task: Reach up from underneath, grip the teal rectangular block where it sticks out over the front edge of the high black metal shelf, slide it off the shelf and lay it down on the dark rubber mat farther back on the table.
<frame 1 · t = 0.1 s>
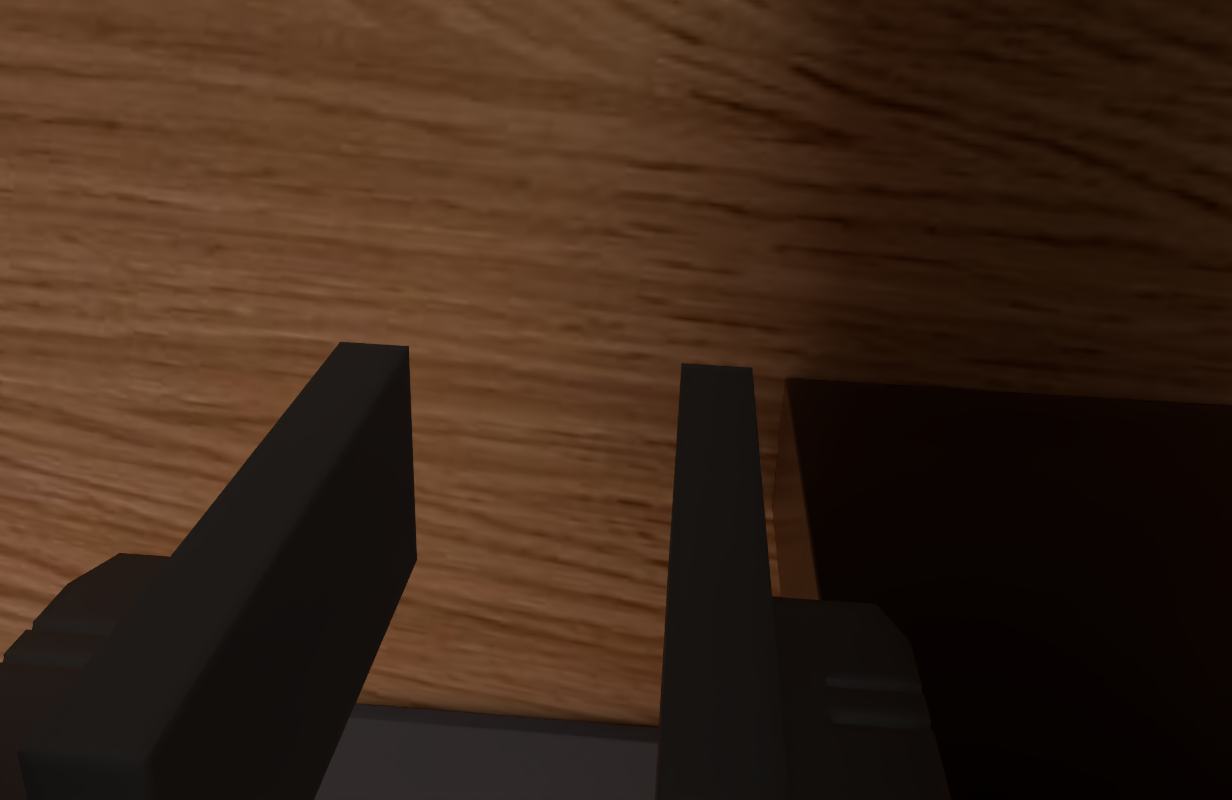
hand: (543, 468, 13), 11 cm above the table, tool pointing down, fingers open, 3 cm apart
shelf stand: (1194, 148, 21), on the table
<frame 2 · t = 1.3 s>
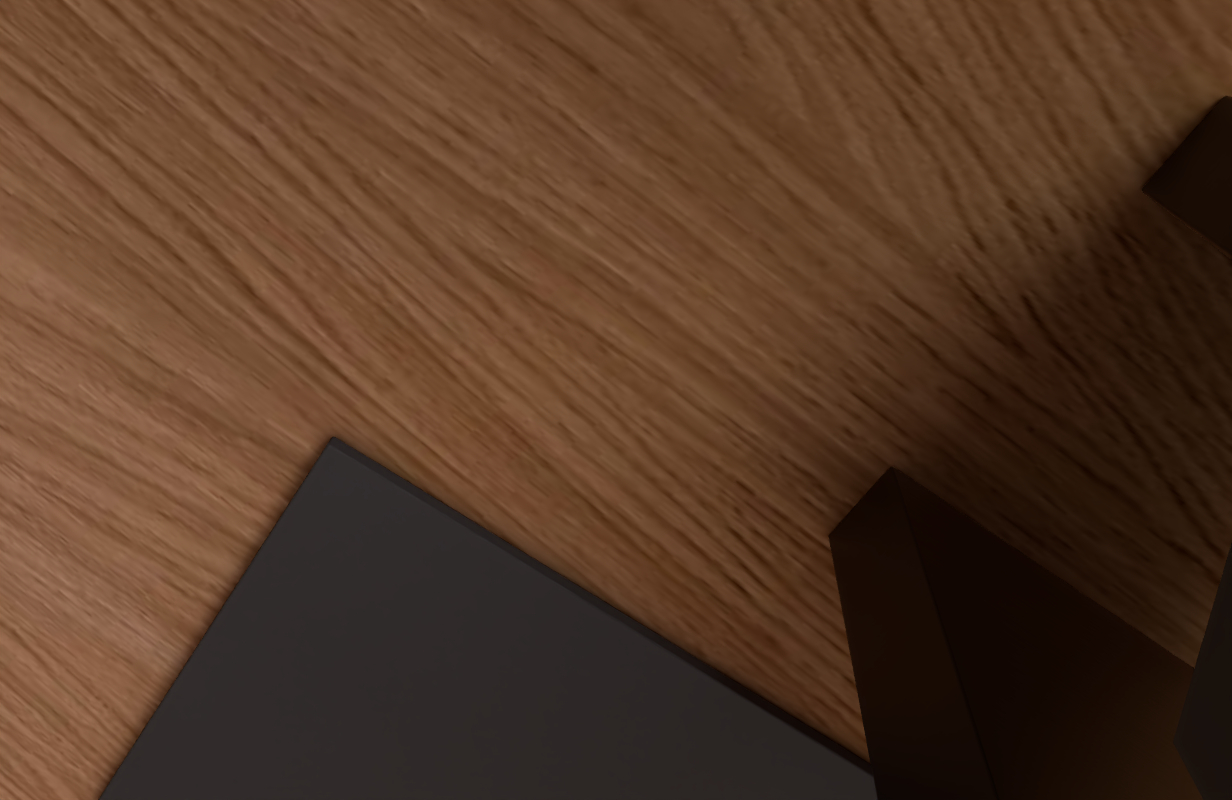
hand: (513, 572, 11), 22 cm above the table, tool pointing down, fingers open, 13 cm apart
shelf stand: (1194, 467, 34), on the table
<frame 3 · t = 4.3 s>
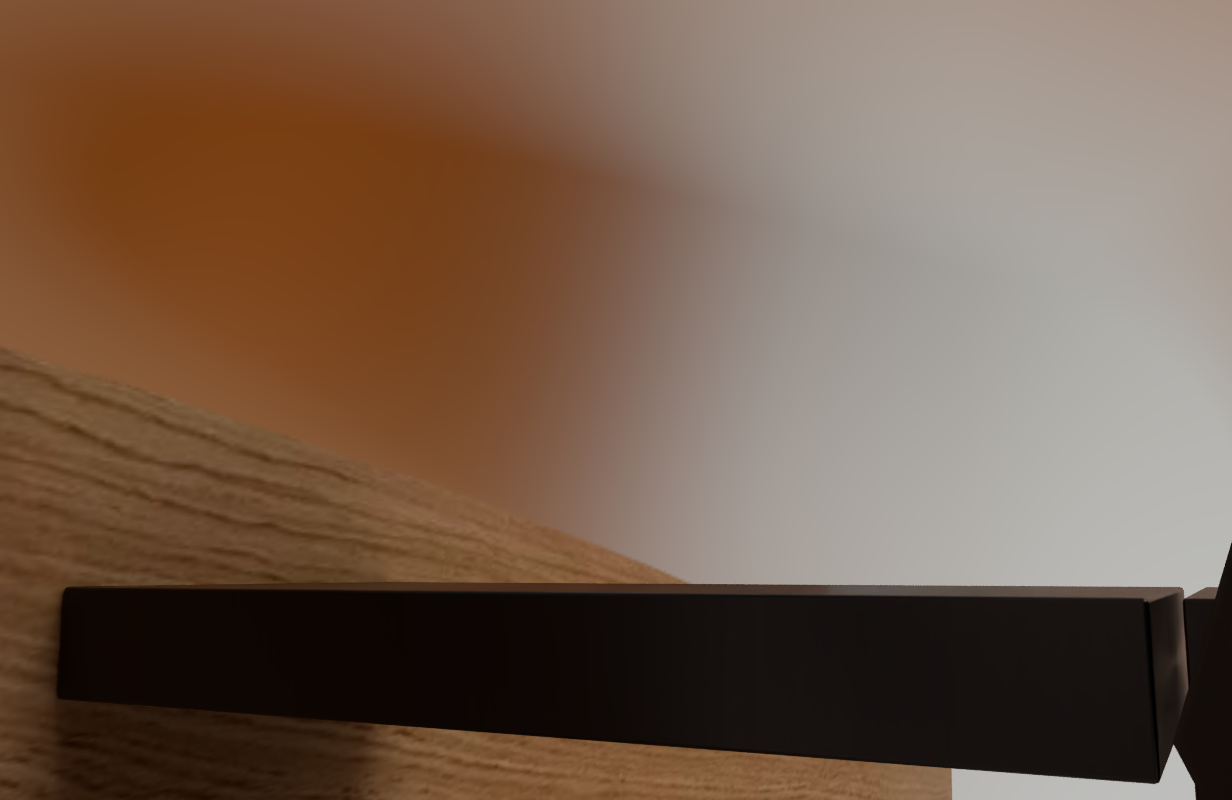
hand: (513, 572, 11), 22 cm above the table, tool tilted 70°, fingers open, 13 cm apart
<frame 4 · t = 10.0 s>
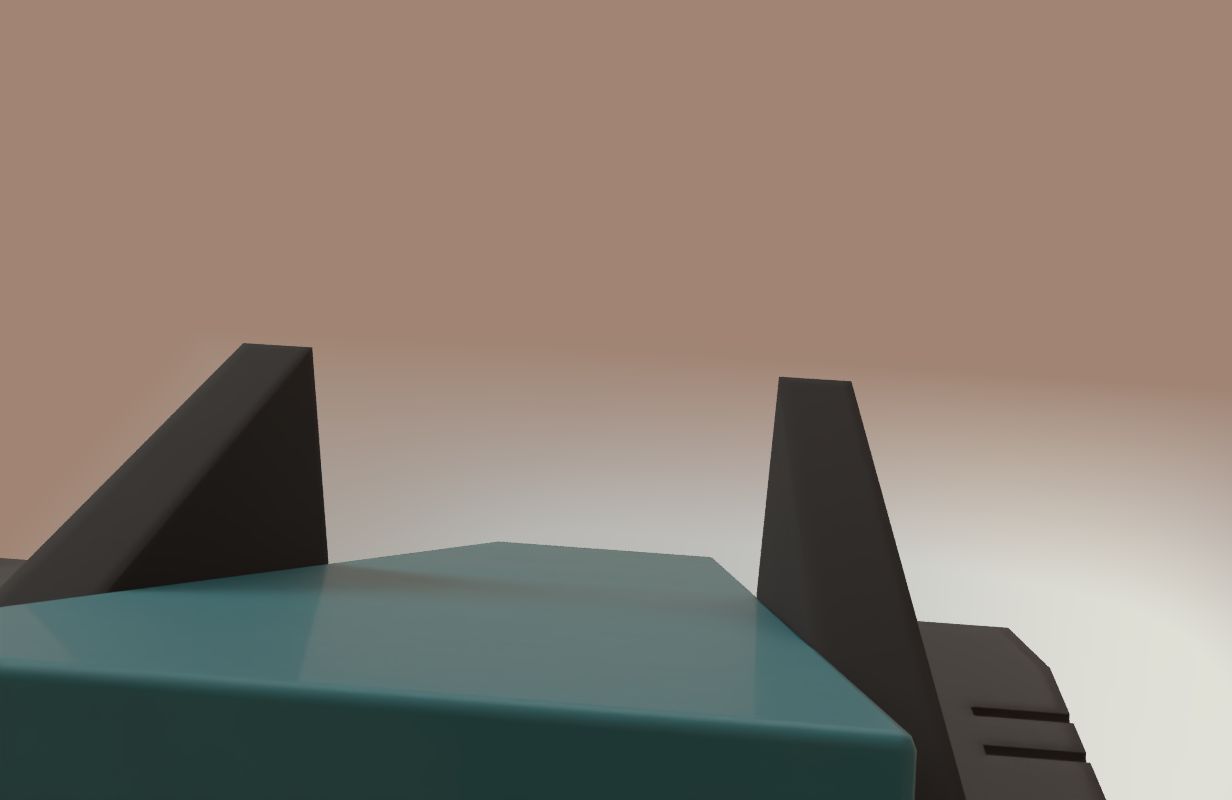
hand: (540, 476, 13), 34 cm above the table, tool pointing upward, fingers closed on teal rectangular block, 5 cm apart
teal rectangular block: (735, 736, 15), point 31 cm above the table, tilted 90°, touching gripper, shelf stand
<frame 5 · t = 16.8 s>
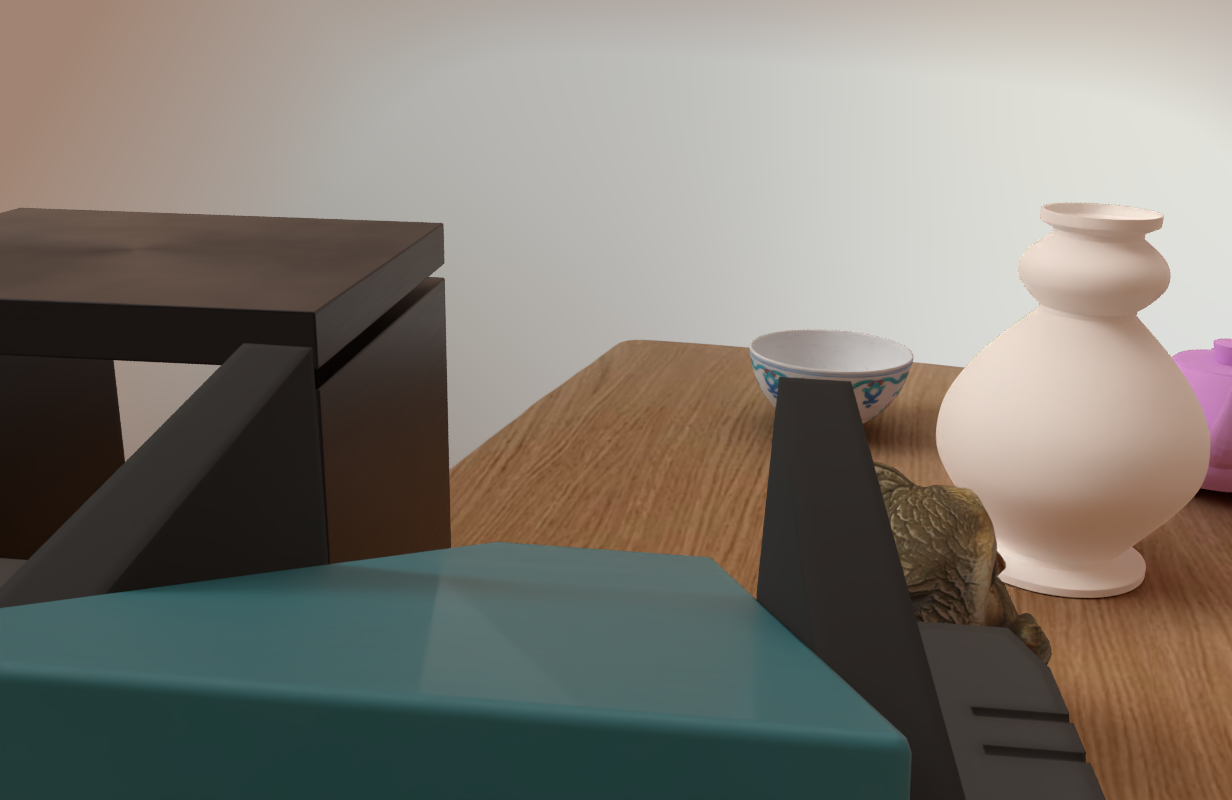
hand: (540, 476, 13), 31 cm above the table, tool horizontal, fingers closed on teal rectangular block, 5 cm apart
decorative vase: (1050, 560, 84), on the table
teal rectangular block: (734, 737, 15), point 27 cm above the table, tilted 89°, touching gripper
chinaware: (824, 429, 111), on the table
teapot: (1207, 490, 98), on the table
figurine: (917, 729, 64), on the table
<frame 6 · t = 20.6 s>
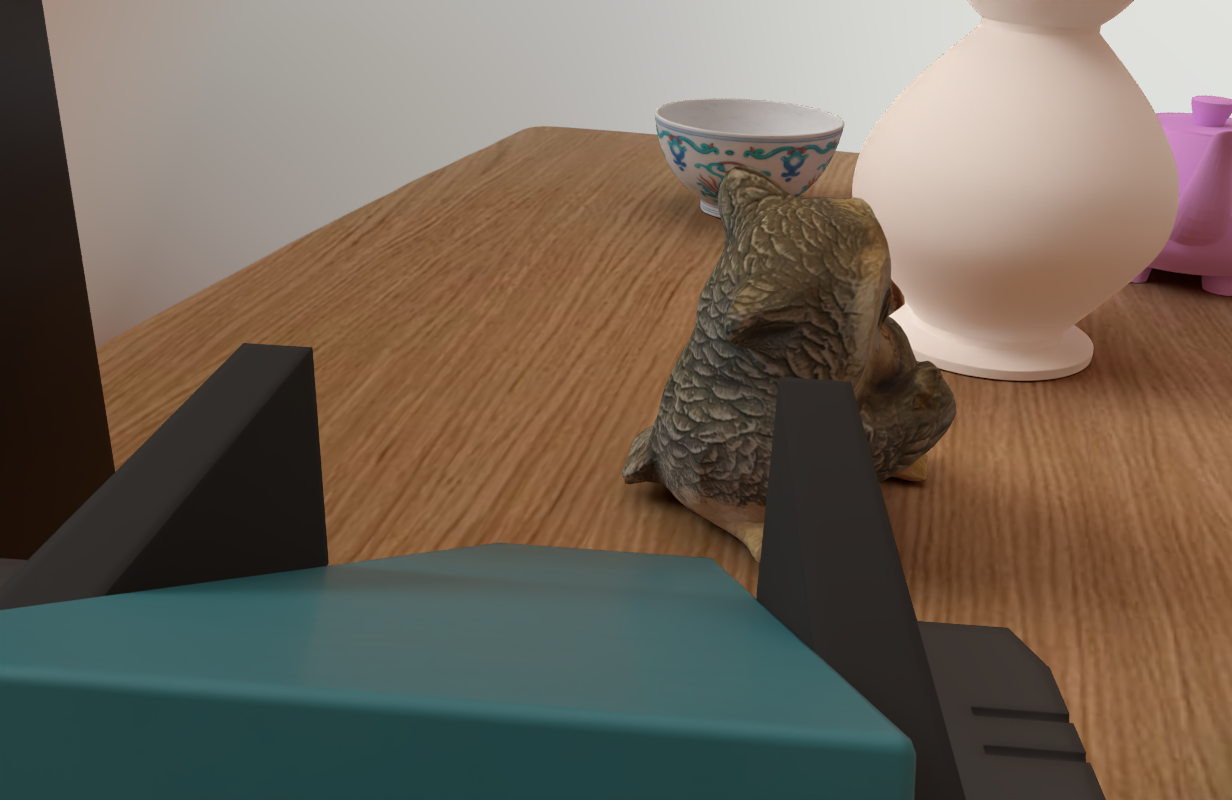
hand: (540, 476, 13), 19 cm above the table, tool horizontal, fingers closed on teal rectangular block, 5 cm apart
decorative vase: (982, 343, 71), on the table
teal rectangular block: (736, 738, 15), point 15 cm above the table, tilted 90°, touching gripper
chinaware: (740, 212, 97), on the table
teapot: (1171, 277, 85), on the table
figurine: (792, 517, 51), on the table
when the fingers open (7 cm above the table, at t = 24.1 s): teal rectangular block drops 2 cm and tips over, resting on mat.
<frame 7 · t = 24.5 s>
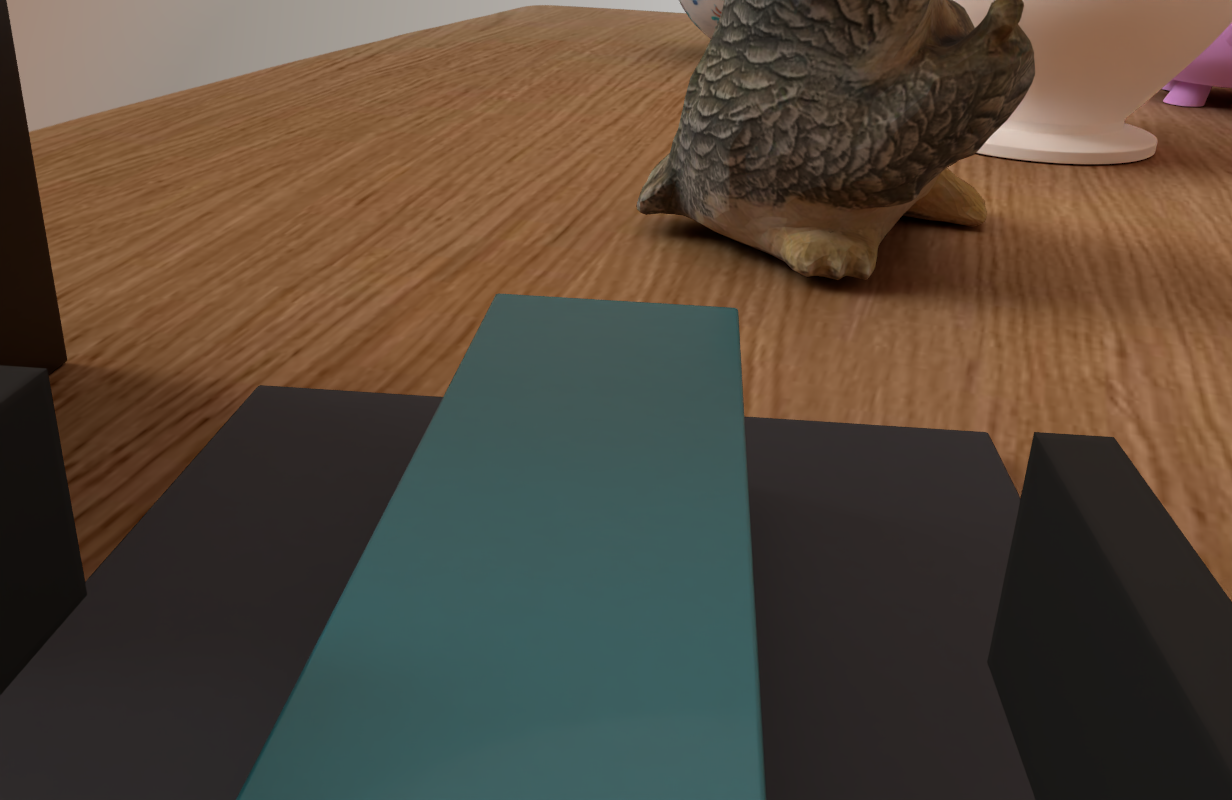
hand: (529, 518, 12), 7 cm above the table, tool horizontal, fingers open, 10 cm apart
decorative vase: (1031, 142, 64), on the table
teal rectangular block: (743, 752, 15), point 3 cm above the table, tilted 90°, touching mat
chinaware: (758, 59, 90), on the table
teapot: (1230, 105, 78), on the table
figurine: (834, 251, 44), on the table
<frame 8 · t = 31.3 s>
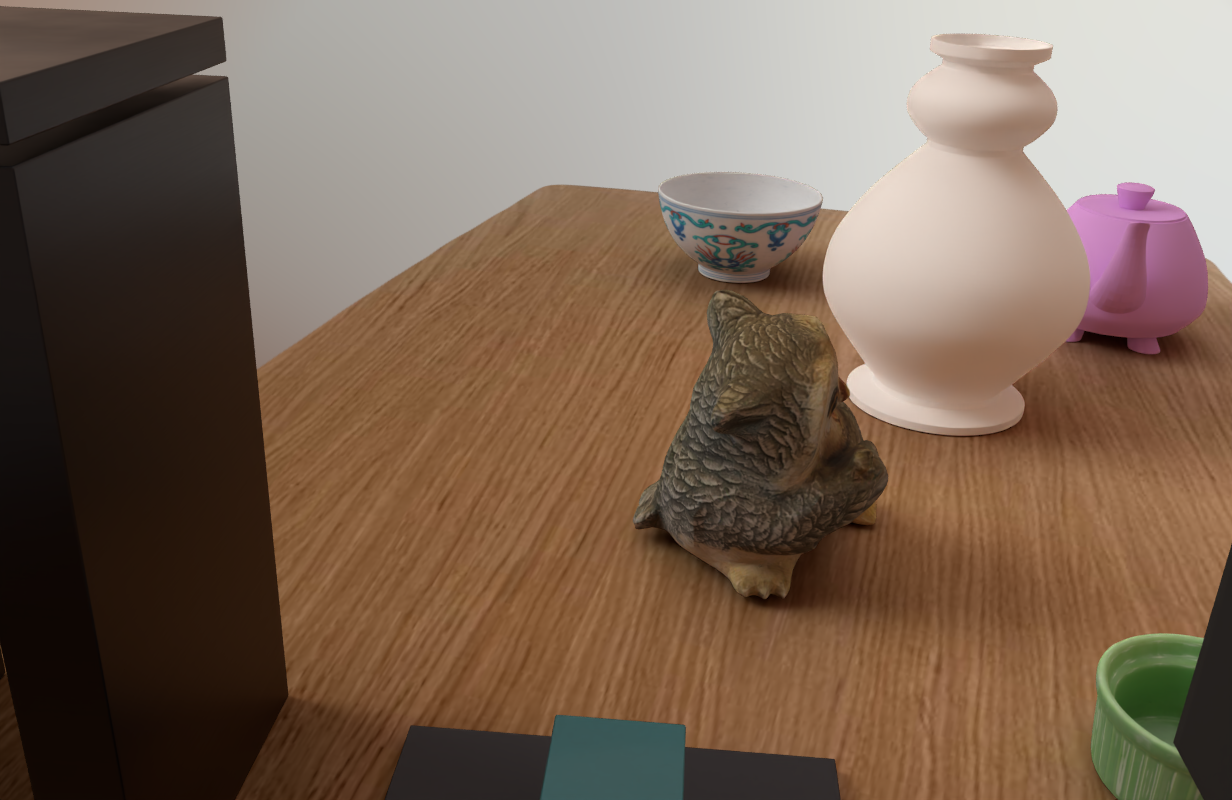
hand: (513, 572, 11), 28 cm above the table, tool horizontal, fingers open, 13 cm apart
decorative vase: (932, 400, 85), on the table
shelf stand: (32, 792, 46), on the table
chinaware: (733, 273, 110), on the table
teapot: (1103, 335, 99), on the table
figurine: (767, 555, 65), on the table
ramekin: (1187, 785, 49), on the table
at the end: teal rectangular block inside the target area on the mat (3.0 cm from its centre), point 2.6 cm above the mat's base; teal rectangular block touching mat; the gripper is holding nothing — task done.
